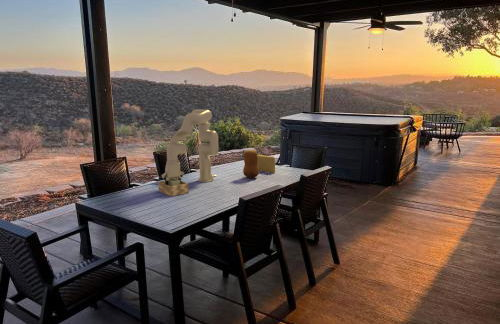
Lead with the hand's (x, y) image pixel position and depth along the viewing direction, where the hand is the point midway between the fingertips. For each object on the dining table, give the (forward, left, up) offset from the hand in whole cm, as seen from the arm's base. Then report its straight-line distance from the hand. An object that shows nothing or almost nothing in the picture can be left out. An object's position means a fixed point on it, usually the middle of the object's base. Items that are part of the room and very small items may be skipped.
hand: (173, 184), depth 260 cm
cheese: (-101, -13, -6) cm, 102 cm away
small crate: (0, 0, -4) cm, 4 cm away
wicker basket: (0, 0, -6) cm, 6 cm away
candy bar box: (-15, -30, -6) cm, 34 cm away
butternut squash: (-73, 0, -6) cm, 73 cm away
